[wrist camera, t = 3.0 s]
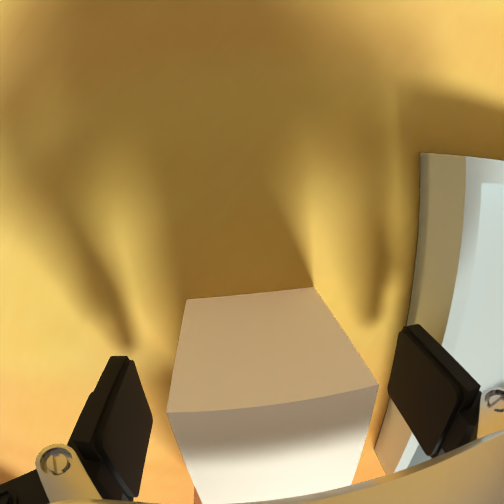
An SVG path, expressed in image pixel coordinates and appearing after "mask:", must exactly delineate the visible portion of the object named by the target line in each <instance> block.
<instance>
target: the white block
mask: <svg viewBox="0 0 504 504" xmlns="http://www.w3.org/2000/svg"><path fill="white" fill-rule="evenodd" d="M378 387H379V383H378V382H377V380H376V379H375V377H374V375H373V374H372V372H371V371H370V369H369V368H368V366H367V365H366V363H365V362H364V360H363V359H362V357H361V356H360V354H359V353H358V351H357V350H356V348H355V347H354V345H353V344H352V342H351V341H350V339H349V338H348V336H347V335H346V333H345V332H344V330H343V329H342V327H341V326H340V324H339V323H338V321H337V320H336V318H335V317H334V315H333V314H332V312H331V311H330V309H329V308H328V307H327V305H326V304H325V302H324V301H323V299H322V298H321V296H320V295H319V293H318V292H317V290H316V289H315V288H314V287H308V288H299V289H290V290H281V291H272V292H262V293H253V294H242V295H232V296H221V297H210V298H198V299H187V300H186V305H185V310H184V315H183V320H182V325H181V331H180V336H179V341H178V346H177V352H176V357H175V363H174V369H173V374H172V380H171V386H170V392H169V398H168V404H167V411H166V413H167V416H168V419H169V422H170V425H171V428H172V430H173V433H174V436H175V439H176V441H177V444H178V447H179V449H180V452H181V454H182V457H183V459H184V462H185V464H186V467H187V469H188V472H189V474H190V476H191V479H192V481H193V484H194V486H195V488H196V490H197V493H198V495H199V497H200V499H201V501H202V504H231V503H246V502H257V501H267V500H275V499H283V498H290V497H296V496H302V495H308V494H314V493H319V492H323V491H328V490H332V489H336V488H340V487H344V486H348V485H351V483H352V480H353V477H354V474H355V471H356V468H357V465H358V462H359V459H360V456H361V452H362V449H363V446H364V442H365V439H366V435H367V432H368V428H369V424H370V421H371V417H372V413H373V409H374V405H375V400H376V396H377V392H378Z"/></svg>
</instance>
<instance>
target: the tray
mask: <svg viewBox="0 0 504 504" xmlns="http://www.w3.org/2000/svg"><path fill="white" fill-rule="evenodd" d="M414 324H419V325H421V326H422V327H423V328H424V329H425V330H426V331H427V332H428V333H429V334H430V335H431V336H432V337H433V338H434V339H435V340H436V341H437V342H438V343H439V344H440V345H441V346H442V347H443V348H444V349H445V350H446V351H447V352H448V353H449V354H450V355H451V356H452V357H453V358H454V359H455V360H456V361H457V362H458V363H459V364H460V365H461V366H462V367H463V368H464V369H465V370H466V371H467V372H468V373H469V374H470V375H471V376H472V377H473V378H474V379H475V380H476V381H477V382H478V383H479V384H480V386H481V387H480V389H479V390H480V391H481V392H482V393H483V392H484V390H486V389H488V388H491V387H501V388H504V161H501V160H494V159H487V158H479V157H470V156H461V155H449V154H437V153H422V152H420V208H419V227H418V241H417V252H416V262H415V271H414V279H413V287H412V294H411V301H410V308H409V314H408V320H407V325H406V326H410V325H414ZM374 451H375V453H376V455H377V457H378V459H379V461H380V463H381V465H382V467H383V469H384V471H385V473H386V475H389V474H392V473H395V472H398V471H401V470H403V469H406V468H409V467H412V466H415V465H417V464H420V463H422V462H425V461H427V460H430V459H432V458H431V457H430V456H427V455H426V454H425V453H424V451H423V449H422V448H421V446H420V444H419V443H418V441H417V440H416V438H415V436H414V435H413V433H412V431H411V430H410V428H409V426H408V425H407V423H406V422H405V420H404V418H403V417H402V415H401V414H400V412H399V410H398V409H397V407H396V406H395V404H394V402H393V401H392V399H391V398H390V400H389V404H388V407H387V411H386V414H385V418H384V421H383V424H382V427H381V431H380V434H379V437H378V440H377V443H376V446H375V449H374Z"/></svg>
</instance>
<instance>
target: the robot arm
mask: <svg viewBox="0 0 504 504" xmlns="http://www.w3.org/2000/svg"><path fill="white" fill-rule="evenodd" d="M480 387H481V386H480V384H479V383H478V382H477V381H476V380H475V379H474V378H473V377H472V376H471V375H470V374H469V373H468V372H467V371H466V370H465V369H464V368H463V367H462V366H461V365H460V364H459V363H458V362H457V361H456V360H455V359H454V358H453V357H452V356H451V355H450V354H449V353H448V352H447V351H446V350H445V349H444V348H443V347H442V346H441V345H440V344H439V343H438V342H437V341H436V340H435V339H434V338H433V337H432V336H431V335H430V334H429V333H428V332H427V331H426V330H425V329H424V328H423V327H422V326H421V325H419V324H414V325H410V326H405V327H404V328H403V329H402V331H401V332H399V335H398V340H397V346H396V351H395V356H394V361H393V366H392V370H391V375H390V379H389V384H388V394H389V396H390V398H391V399H392V401H393V402H394V404H395V406H396V407H397V409H398V410H399V412H400V414H401V415H402V417H403V418H404V420H405V422H406V423H407V425H408V426H409V428H410V430H411V431H412V433H413V435H414V436H415V438H416V440H417V441H418V443H419V444H420V446H421V448H422V449H423V451H424V453H425V454H426V455H427V456H430V457H431V458H432V459H430V460H427V461H425V462H422V463H420V464H417V465H415V466H412V467H409V468H406V469H403V470H401V471H398V472H395V473H392V474H389V475H385V476H382V477H379V478H376V479H372V480H369V481H365V482H361V483H358V484H354V485H350V486H346V487H342V488H337V489H333V490H328V491H324V492H319V493H314V494H308V495H302V496H296V497H290V498H283V499H275V500H267V501H257V502H246V503H231V504H504V388H501V387H491V388H488V389H486V390H484V392H483V393H482V392H481V391H480V390H479V389H480ZM152 424H153V418H152V413H151V411H150V408H149V405H148V402H147V399H146V397H145V394H144V391H143V388H142V385H141V382H140V379H139V376H138V373H137V369H136V366H135V363H134V361H133V360H129V358H128V357H127V356H111V357H110V359H109V361H108V363H107V365H106V367H105V369H104V371H103V373H102V375H101V377H100V379H99V381H98V383H97V385H96V388H95V390H94V391H93V392H92V393H91V394H90V395H89V397H88V399H87V401H86V404H85V406H84V408H83V410H82V412H81V414H80V417H79V419H78V421H77V423H76V426H75V428H74V430H73V432H72V435H71V437H70V439H69V442H68V444H67V445H64V444H53V445H49V446H47V447H46V448H44V449H43V450H42V451H41V452H40V453H39V454H38V456H37V458H36V462H35V464H36V469H35V470H33V471H31V472H29V473H27V474H24V475H22V476H20V477H18V478H15V479H13V480H11V481H8V482H6V483H3V484H1V485H0V504H159V503H144V502H133V498H134V497H138V495H139V490H140V484H141V479H142V473H143V468H144V463H145V458H146V453H147V448H148V443H149V438H150V433H151V429H152Z"/></svg>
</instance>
